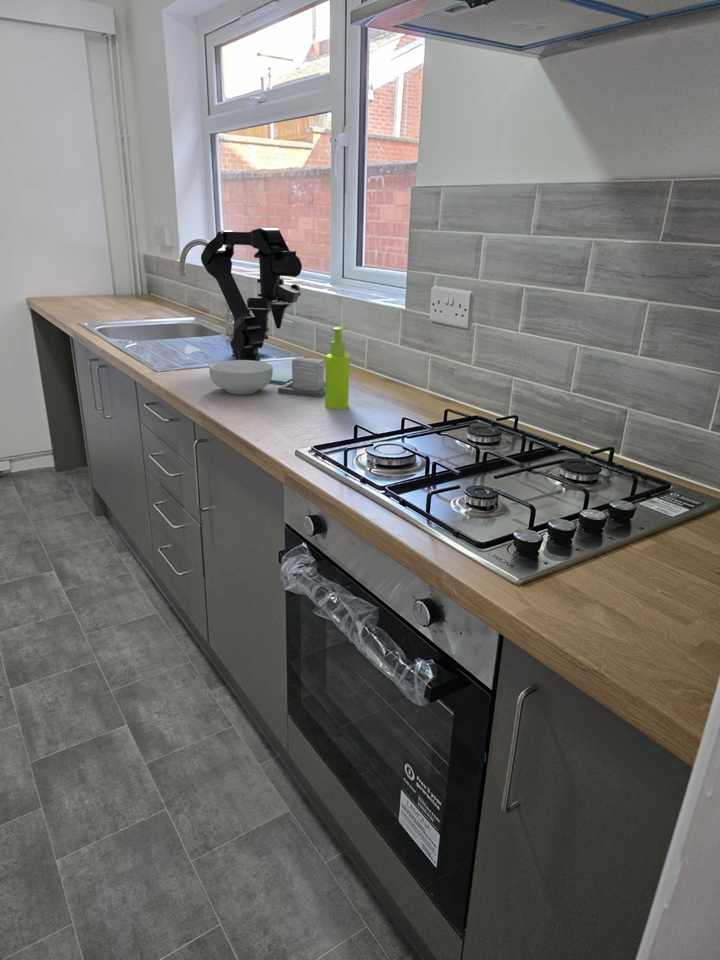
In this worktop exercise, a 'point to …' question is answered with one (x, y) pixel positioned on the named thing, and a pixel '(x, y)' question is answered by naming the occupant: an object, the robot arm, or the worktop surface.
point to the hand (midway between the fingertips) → (271, 330)
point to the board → (281, 377)
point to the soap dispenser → (337, 373)
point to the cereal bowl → (241, 375)
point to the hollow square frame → (300, 391)
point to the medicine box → (308, 374)
